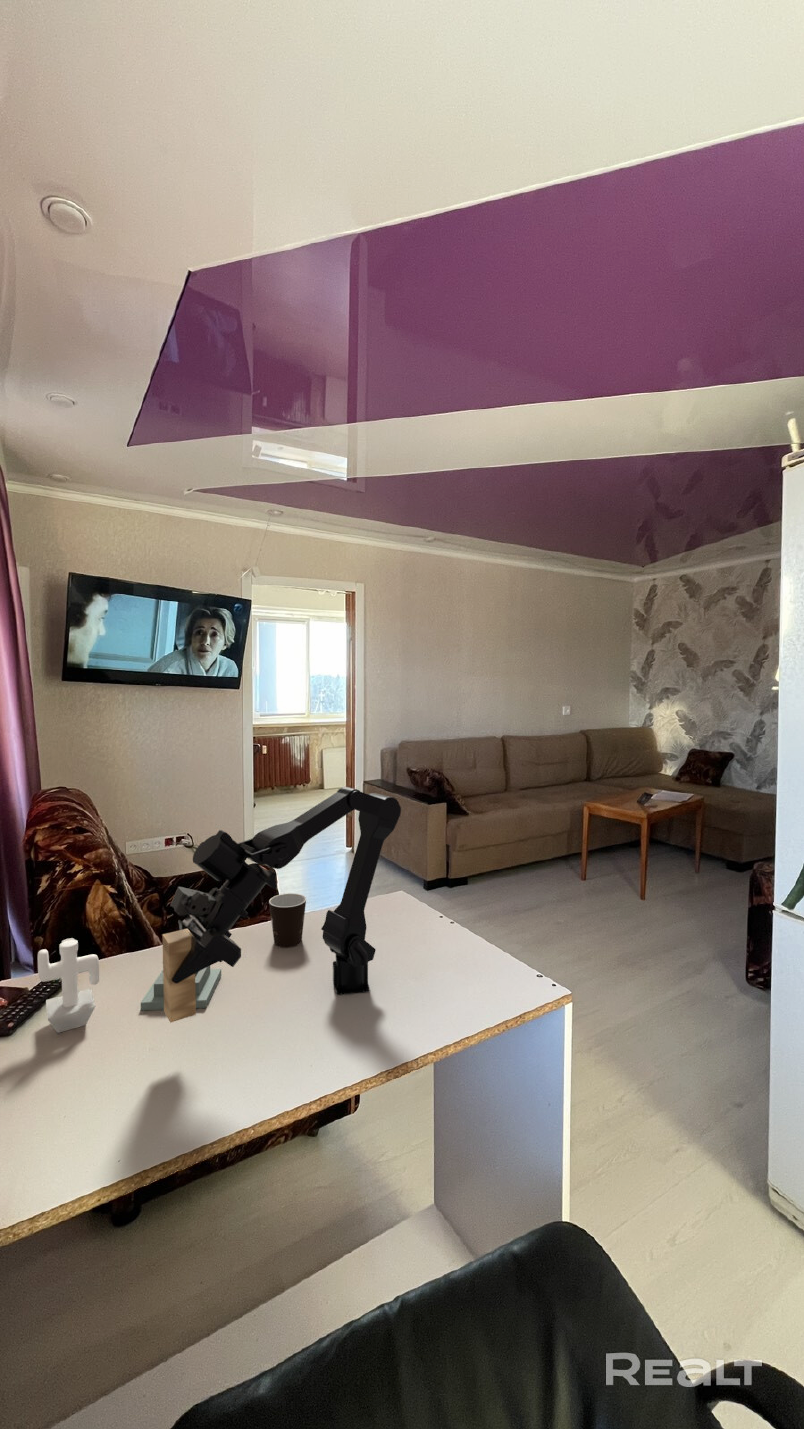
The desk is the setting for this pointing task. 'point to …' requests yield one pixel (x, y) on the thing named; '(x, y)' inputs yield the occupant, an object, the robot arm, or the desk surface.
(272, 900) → the brown paper cup
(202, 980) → the socket holder
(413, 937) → the desk surface
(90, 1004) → the figurine
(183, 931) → the oak stick
